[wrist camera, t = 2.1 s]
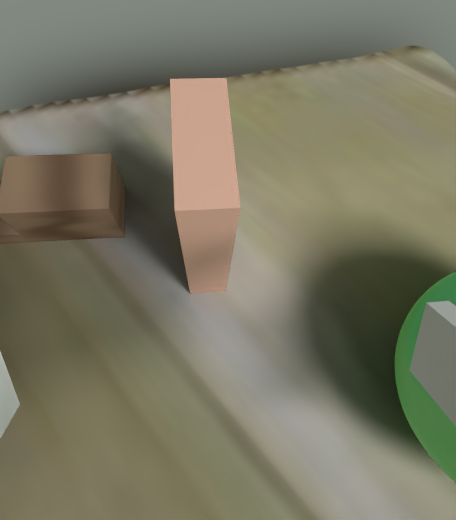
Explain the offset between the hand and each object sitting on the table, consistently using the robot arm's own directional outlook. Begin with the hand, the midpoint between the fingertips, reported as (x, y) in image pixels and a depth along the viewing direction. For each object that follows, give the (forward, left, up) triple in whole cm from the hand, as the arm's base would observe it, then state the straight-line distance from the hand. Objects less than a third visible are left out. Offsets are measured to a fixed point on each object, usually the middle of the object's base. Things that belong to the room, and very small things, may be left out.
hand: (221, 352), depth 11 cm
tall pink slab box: (0, +11, -17) cm, 20 cm away
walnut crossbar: (-18, +15, -17) cm, 29 cm away
